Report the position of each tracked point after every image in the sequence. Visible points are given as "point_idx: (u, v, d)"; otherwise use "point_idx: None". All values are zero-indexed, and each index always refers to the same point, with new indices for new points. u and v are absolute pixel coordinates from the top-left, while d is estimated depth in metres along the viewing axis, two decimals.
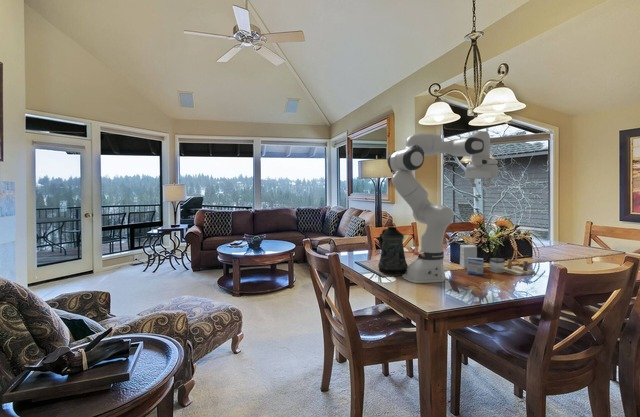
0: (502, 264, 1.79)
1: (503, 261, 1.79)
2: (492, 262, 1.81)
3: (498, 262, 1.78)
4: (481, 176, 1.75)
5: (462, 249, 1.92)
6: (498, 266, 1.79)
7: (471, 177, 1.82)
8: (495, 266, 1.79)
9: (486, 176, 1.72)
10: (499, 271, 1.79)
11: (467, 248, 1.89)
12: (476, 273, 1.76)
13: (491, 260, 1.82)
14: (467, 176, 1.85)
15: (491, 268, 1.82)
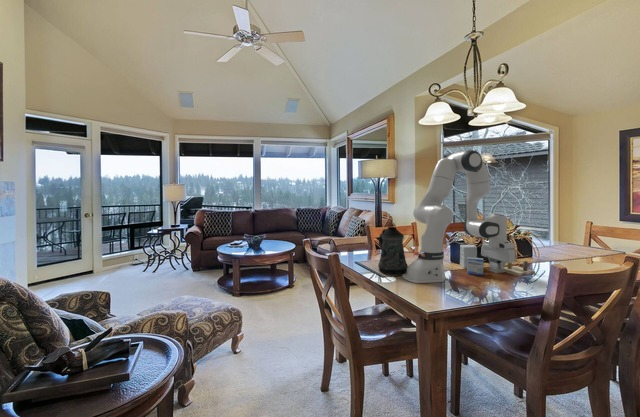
0: None
1: None
2: (492, 262, 1.81)
3: (498, 262, 1.78)
4: (498, 258, 1.78)
5: (462, 249, 1.92)
6: (498, 266, 1.79)
7: (487, 256, 1.85)
8: (495, 266, 1.79)
9: (503, 259, 1.75)
10: (499, 271, 1.79)
11: (467, 248, 1.89)
12: (476, 273, 1.76)
13: (491, 260, 1.82)
14: (483, 254, 1.88)
15: (491, 268, 1.82)
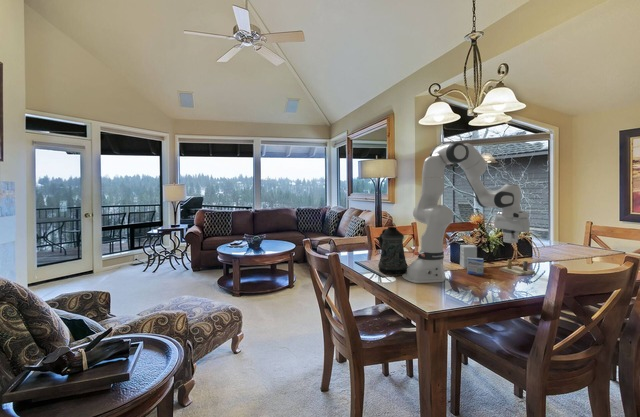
0: None
1: None
2: (506, 232, 1.81)
3: (512, 232, 1.78)
4: (512, 228, 1.78)
5: (462, 249, 1.92)
6: (512, 236, 1.79)
7: (501, 227, 1.85)
8: (509, 236, 1.80)
9: (517, 229, 1.75)
10: (513, 241, 1.79)
11: (467, 248, 1.89)
12: (476, 273, 1.76)
13: (505, 231, 1.82)
14: (496, 225, 1.88)
15: (505, 239, 1.82)
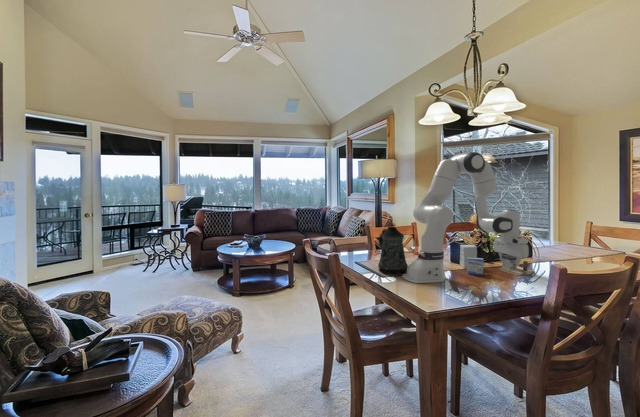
0: None
1: None
2: (505, 259, 1.83)
3: (511, 259, 1.80)
4: (511, 253, 1.79)
5: (462, 249, 1.92)
6: (511, 263, 1.80)
7: (500, 251, 1.86)
8: (508, 263, 1.81)
9: (516, 255, 1.76)
10: (512, 268, 1.81)
11: (467, 248, 1.89)
12: (476, 273, 1.76)
13: (504, 257, 1.83)
14: (496, 249, 1.89)
15: (504, 265, 1.83)
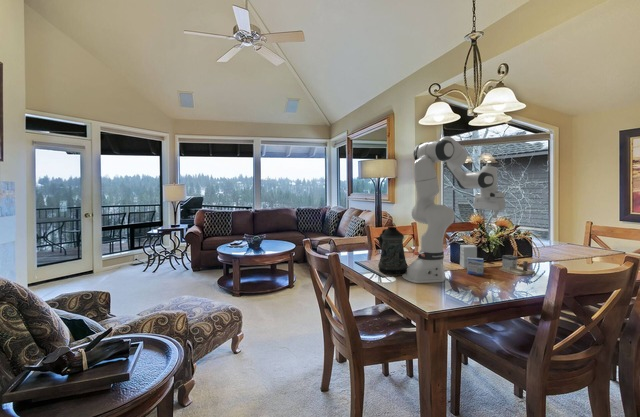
0: (515, 261, 1.81)
1: (516, 258, 1.81)
2: (505, 259, 1.83)
3: (511, 259, 1.80)
4: (489, 207, 1.89)
5: (462, 249, 1.92)
6: (511, 263, 1.80)
7: (479, 207, 1.96)
8: (508, 263, 1.81)
9: (494, 208, 1.86)
10: (512, 268, 1.81)
11: (467, 248, 1.89)
12: (476, 273, 1.76)
13: (504, 257, 1.83)
14: (476, 206, 1.99)
15: (504, 265, 1.83)
